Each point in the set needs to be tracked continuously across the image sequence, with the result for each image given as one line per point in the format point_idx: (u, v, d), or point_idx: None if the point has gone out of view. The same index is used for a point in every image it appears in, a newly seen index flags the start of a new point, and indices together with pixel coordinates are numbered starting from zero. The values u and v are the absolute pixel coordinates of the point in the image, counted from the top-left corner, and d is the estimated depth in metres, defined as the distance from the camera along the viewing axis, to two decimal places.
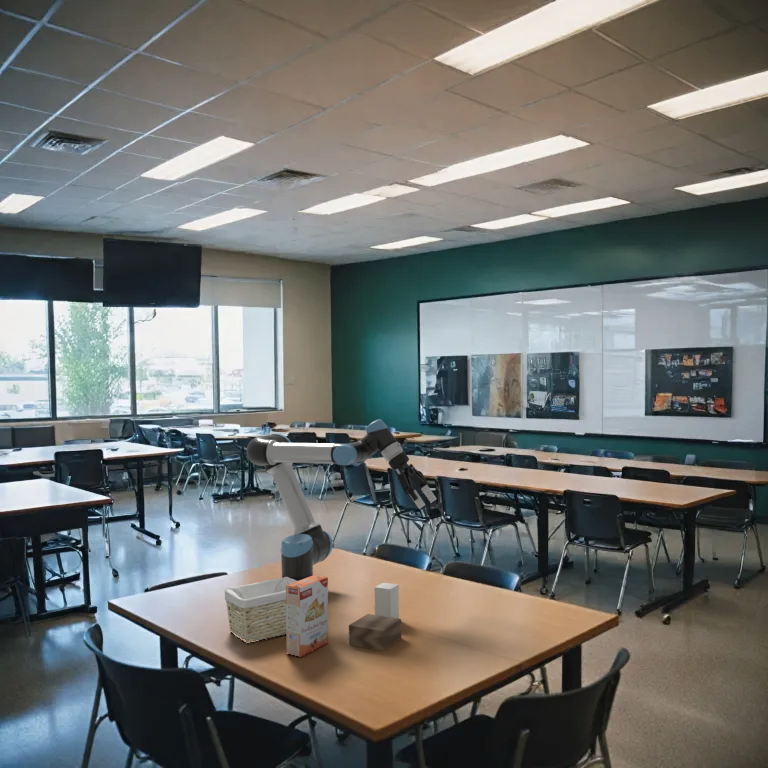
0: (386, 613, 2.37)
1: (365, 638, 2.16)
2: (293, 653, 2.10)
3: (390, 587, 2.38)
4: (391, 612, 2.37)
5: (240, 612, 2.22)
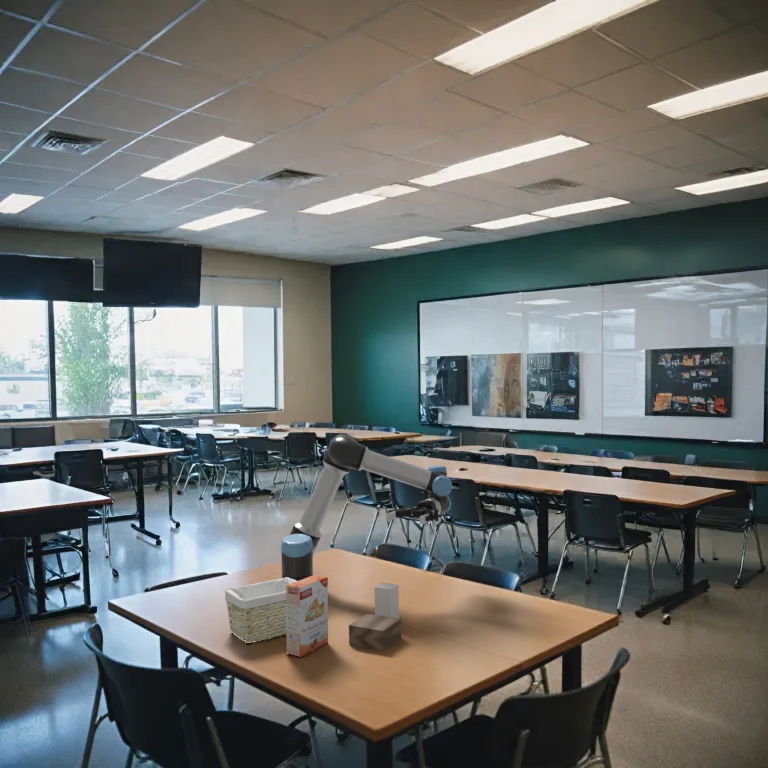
0: (386, 613, 2.37)
1: (365, 638, 2.16)
2: (293, 653, 2.10)
3: (390, 587, 2.38)
4: (391, 612, 2.37)
5: (240, 612, 2.22)
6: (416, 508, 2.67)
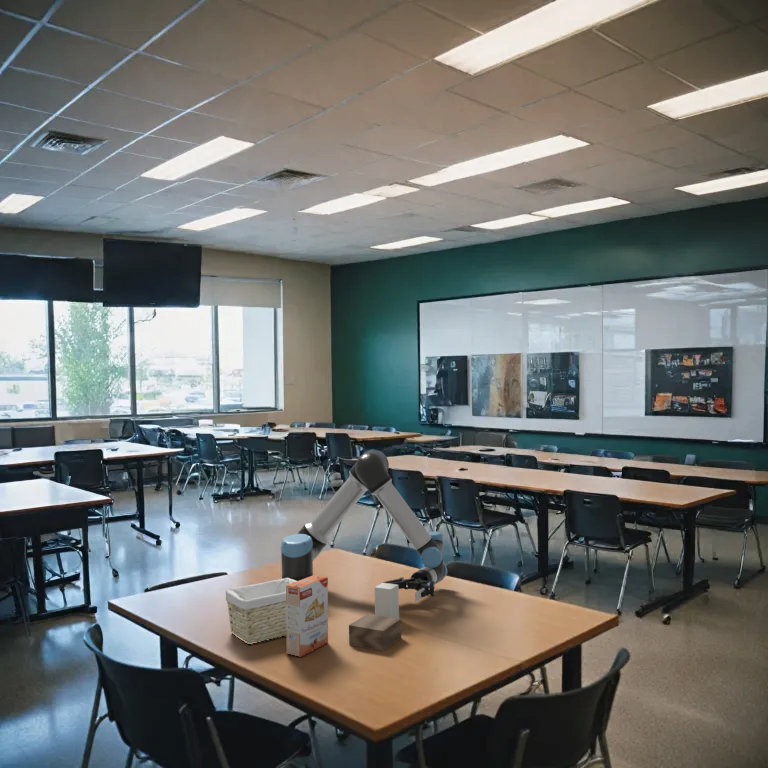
0: (386, 613, 2.37)
1: (365, 638, 2.16)
2: (293, 653, 2.10)
3: (390, 587, 2.38)
4: (391, 612, 2.37)
5: (241, 613, 2.21)
6: (411, 579, 2.59)
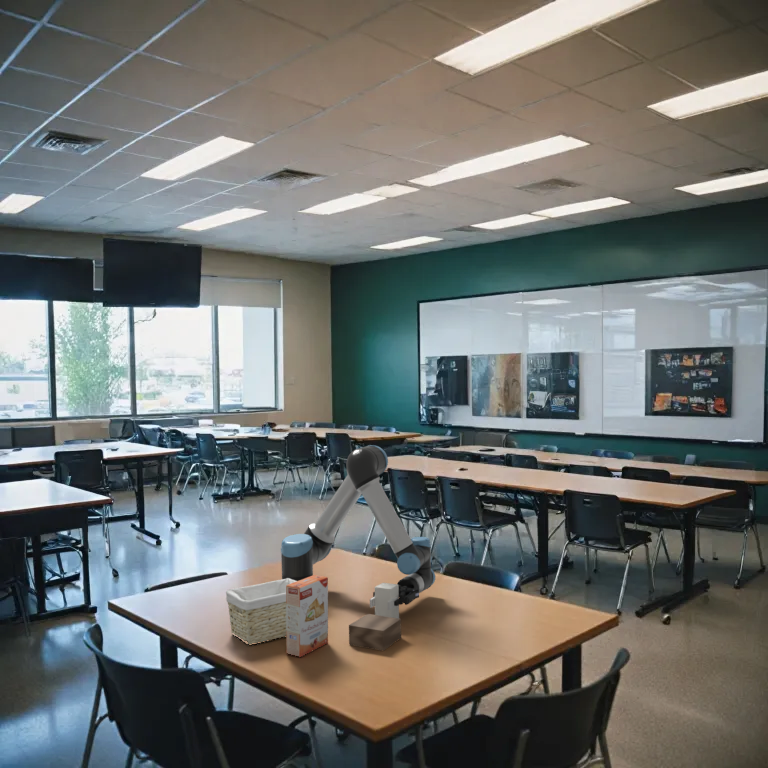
0: (386, 613, 2.37)
1: (365, 638, 2.16)
2: (293, 653, 2.10)
3: (390, 587, 2.38)
4: (391, 612, 2.37)
5: (242, 614, 2.20)
6: None
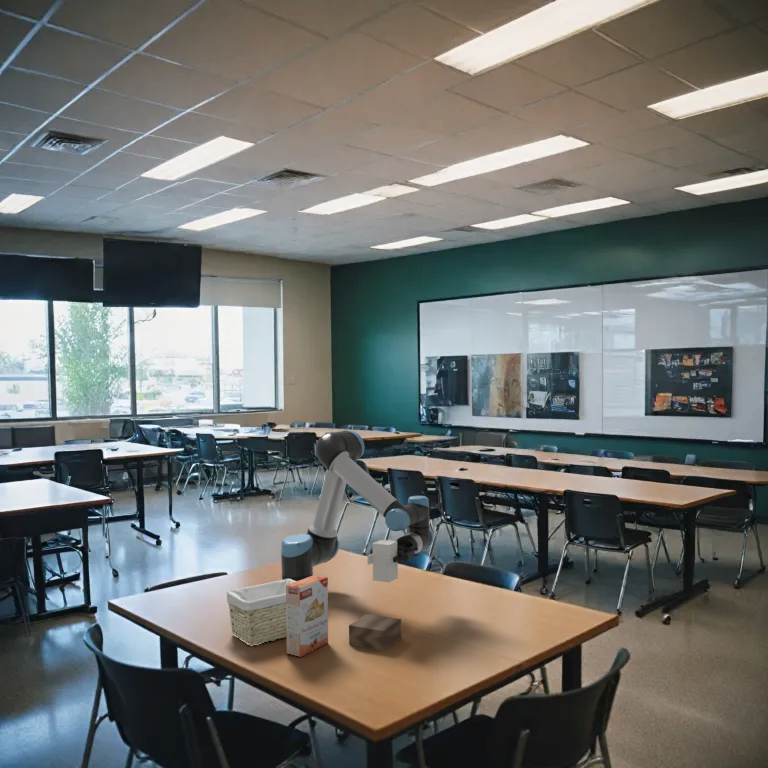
0: (384, 570, 2.27)
1: (365, 638, 2.16)
2: (293, 653, 2.10)
3: (389, 543, 2.28)
4: (390, 569, 2.27)
5: (243, 614, 2.20)
6: None
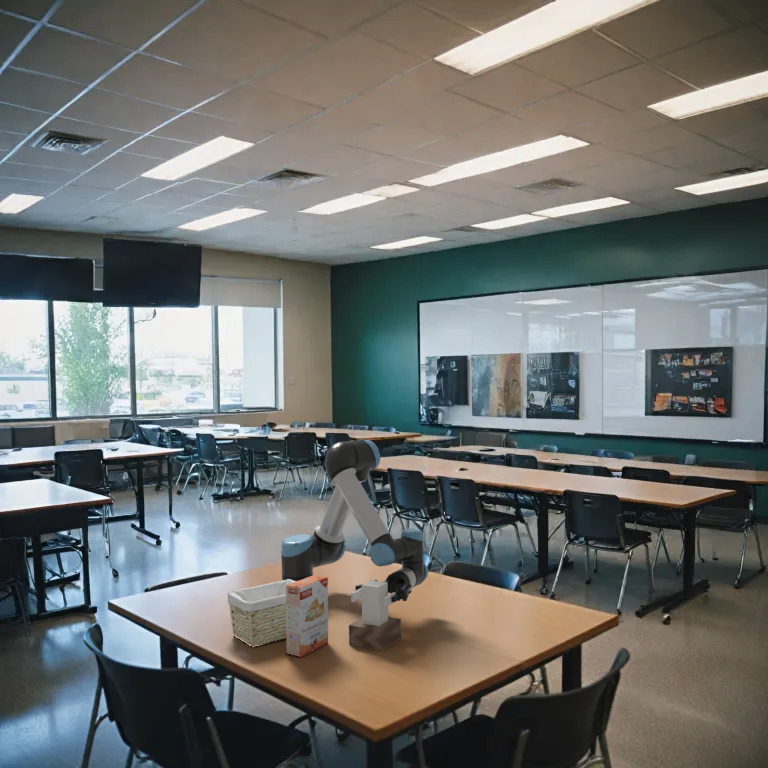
0: (373, 613, 2.18)
1: (365, 638, 2.16)
2: (293, 653, 2.10)
3: (378, 585, 2.19)
4: (380, 612, 2.18)
5: (245, 615, 2.19)
6: None
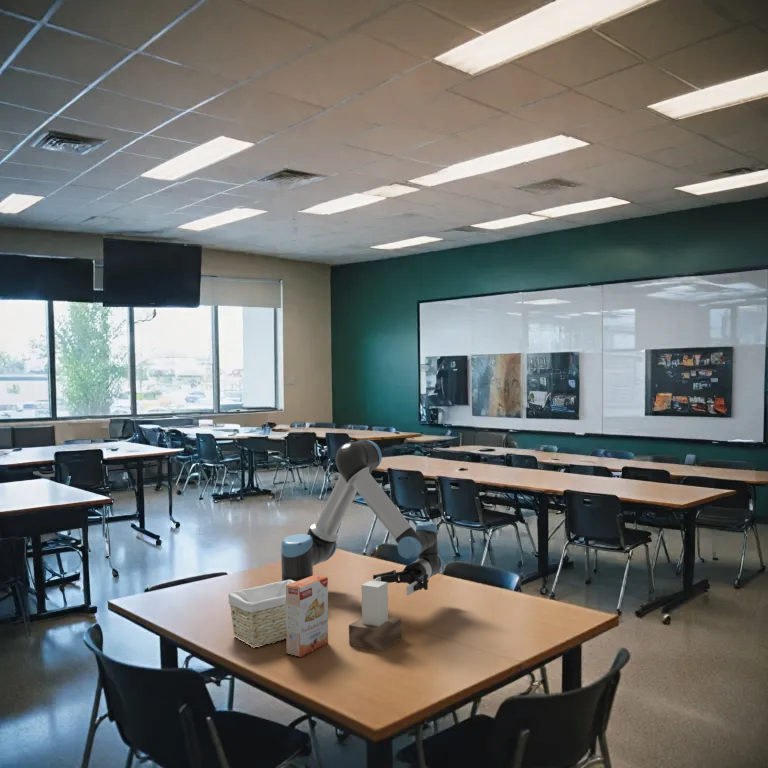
0: (373, 613, 2.18)
1: (365, 638, 2.16)
2: (293, 653, 2.10)
3: (378, 585, 2.19)
4: (380, 612, 2.18)
5: (246, 616, 2.18)
6: (404, 572, 2.43)
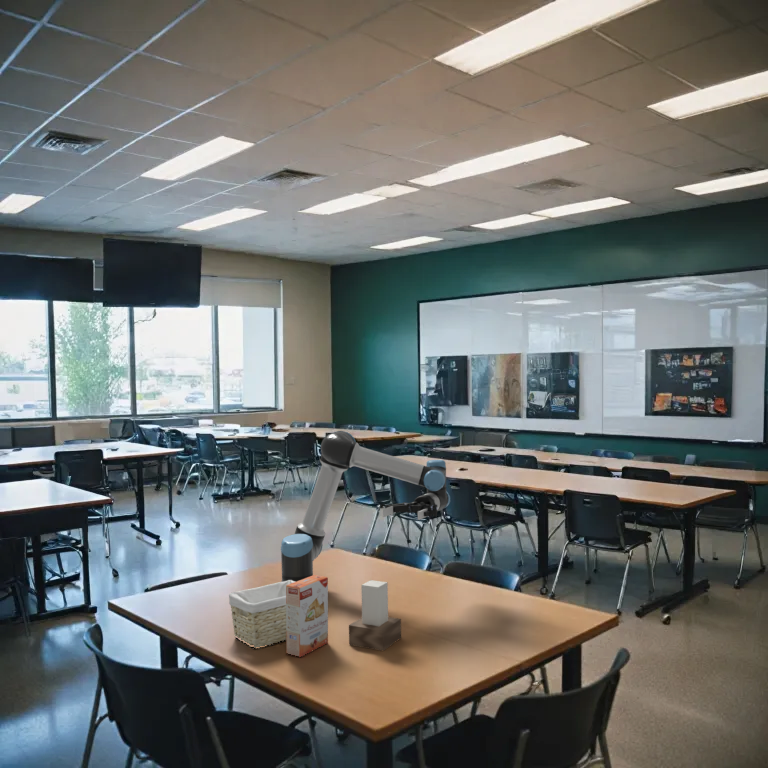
0: (373, 613, 2.18)
1: (365, 638, 2.16)
2: (293, 653, 2.10)
3: (378, 585, 2.19)
4: (380, 612, 2.18)
5: (247, 617, 2.17)
6: (414, 503, 2.59)
